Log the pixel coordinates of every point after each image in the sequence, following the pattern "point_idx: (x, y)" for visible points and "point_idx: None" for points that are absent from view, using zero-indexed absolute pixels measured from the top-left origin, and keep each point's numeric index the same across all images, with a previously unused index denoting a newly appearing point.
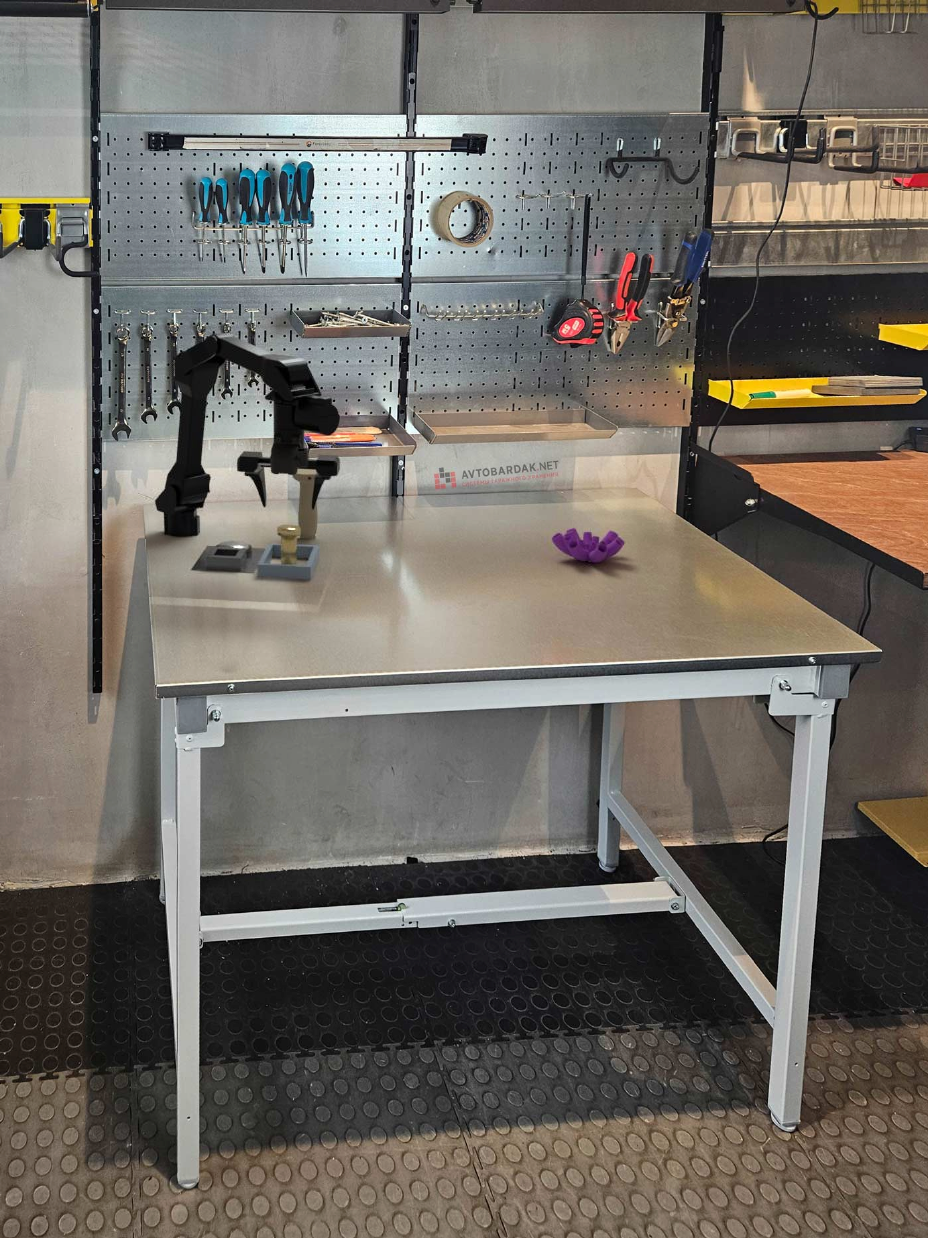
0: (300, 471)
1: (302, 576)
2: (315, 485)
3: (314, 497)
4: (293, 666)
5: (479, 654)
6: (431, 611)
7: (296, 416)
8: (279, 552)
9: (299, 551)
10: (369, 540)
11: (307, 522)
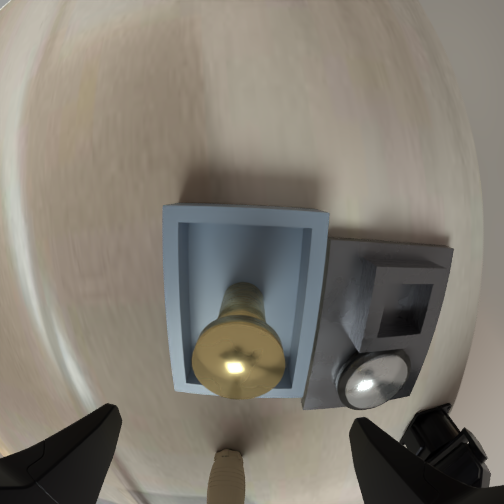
0: None
1: (193, 204)
2: (28, 476)
3: (73, 436)
4: None
5: (11, 13)
6: (2, 113)
7: None
8: None
9: None
10: (135, 451)
11: (224, 477)
